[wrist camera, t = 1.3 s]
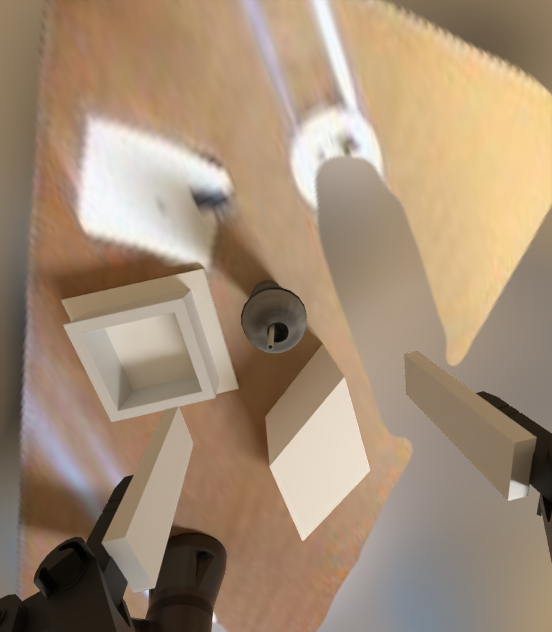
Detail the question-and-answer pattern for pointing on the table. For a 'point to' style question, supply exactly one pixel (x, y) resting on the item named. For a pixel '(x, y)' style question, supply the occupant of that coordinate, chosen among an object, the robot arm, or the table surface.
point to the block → (315, 443)
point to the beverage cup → (273, 318)
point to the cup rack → (151, 344)
